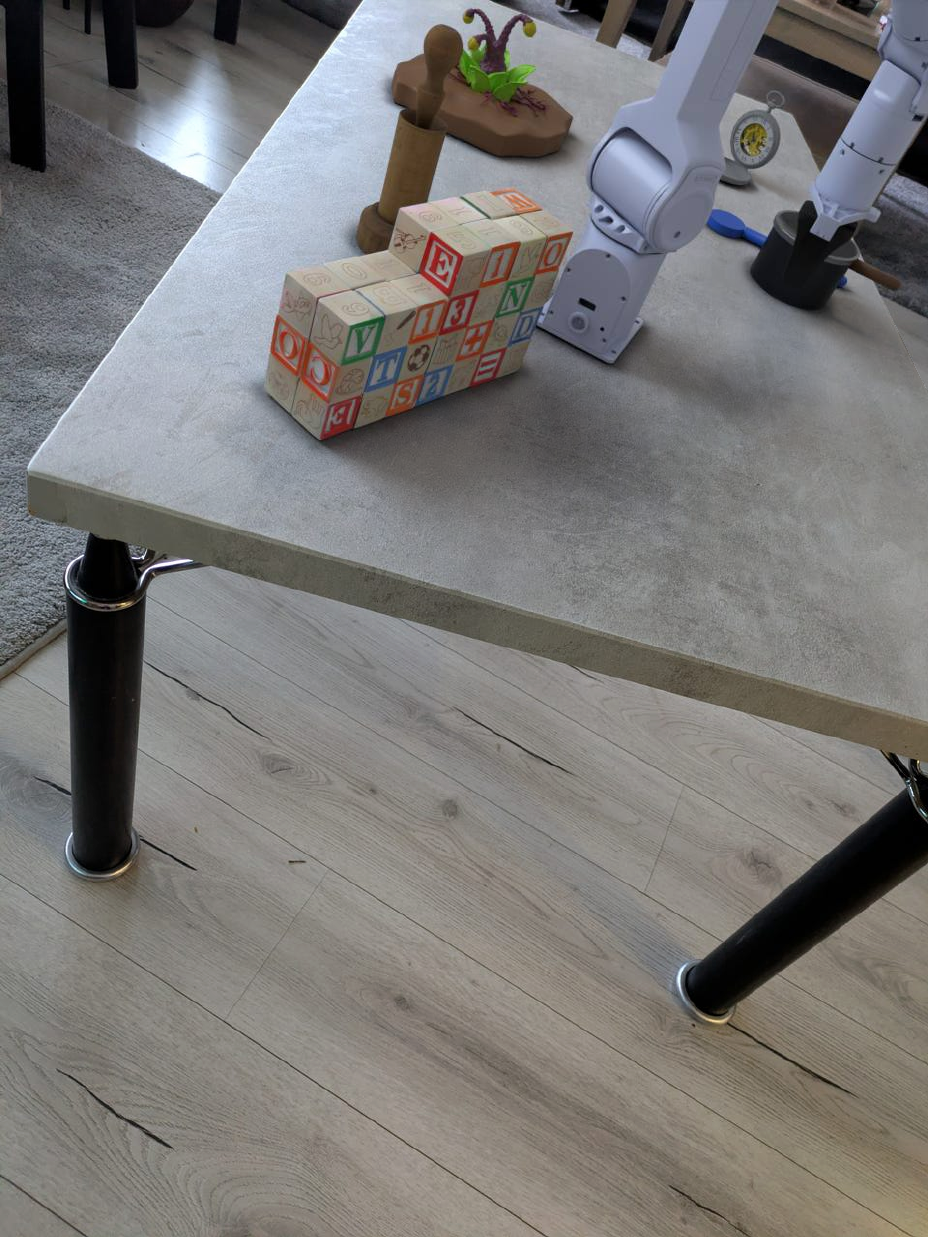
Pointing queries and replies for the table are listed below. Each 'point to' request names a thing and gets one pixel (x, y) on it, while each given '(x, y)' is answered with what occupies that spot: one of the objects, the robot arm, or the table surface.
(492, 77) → the plant
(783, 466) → the table surface
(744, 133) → the pocket watch
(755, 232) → the spoon
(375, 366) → the stack of blocks
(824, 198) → the robot arm
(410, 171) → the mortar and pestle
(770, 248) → the pot
